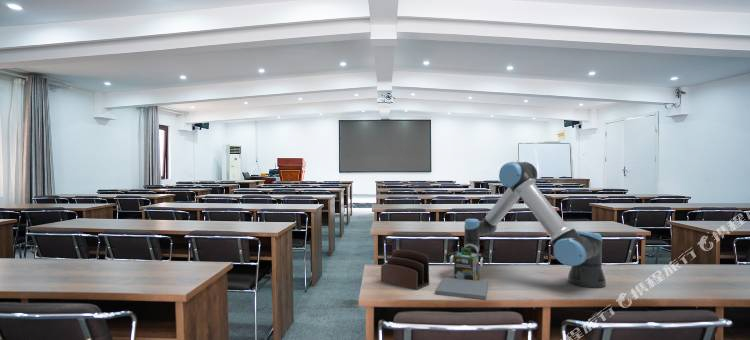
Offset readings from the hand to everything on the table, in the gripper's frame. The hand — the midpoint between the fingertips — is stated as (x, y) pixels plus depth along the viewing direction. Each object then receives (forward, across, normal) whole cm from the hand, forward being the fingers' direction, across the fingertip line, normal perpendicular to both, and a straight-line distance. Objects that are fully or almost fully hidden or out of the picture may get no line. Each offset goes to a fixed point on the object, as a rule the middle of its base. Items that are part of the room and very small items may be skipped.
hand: (465, 262), depth 183 cm
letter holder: (+12, +26, -9) cm, 30 cm away
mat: (+13, 0, -8) cm, 16 cm away
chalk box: (-3, 0, -9) cm, 9 cm away
